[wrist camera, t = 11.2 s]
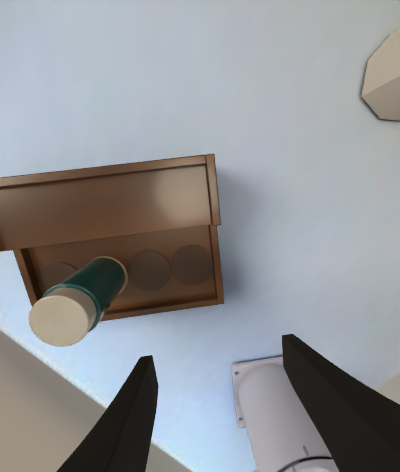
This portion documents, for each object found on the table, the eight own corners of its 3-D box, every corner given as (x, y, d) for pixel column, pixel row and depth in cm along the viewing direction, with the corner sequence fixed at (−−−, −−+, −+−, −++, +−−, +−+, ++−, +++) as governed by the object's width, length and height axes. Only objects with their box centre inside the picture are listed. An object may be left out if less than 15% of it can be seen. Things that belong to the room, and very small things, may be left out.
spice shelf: (219, 290, 21) (230, 320, 16) (58, 312, 20) (16, 351, 15) (206, 165, 18) (214, 153, 13) (20, 186, 18) (-48, 182, 13)
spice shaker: (129, 292, 18) (98, 344, 12) (88, 298, 18) (35, 354, 12) (121, 254, 17) (83, 288, 11) (78, 260, 17) (15, 297, 11)
